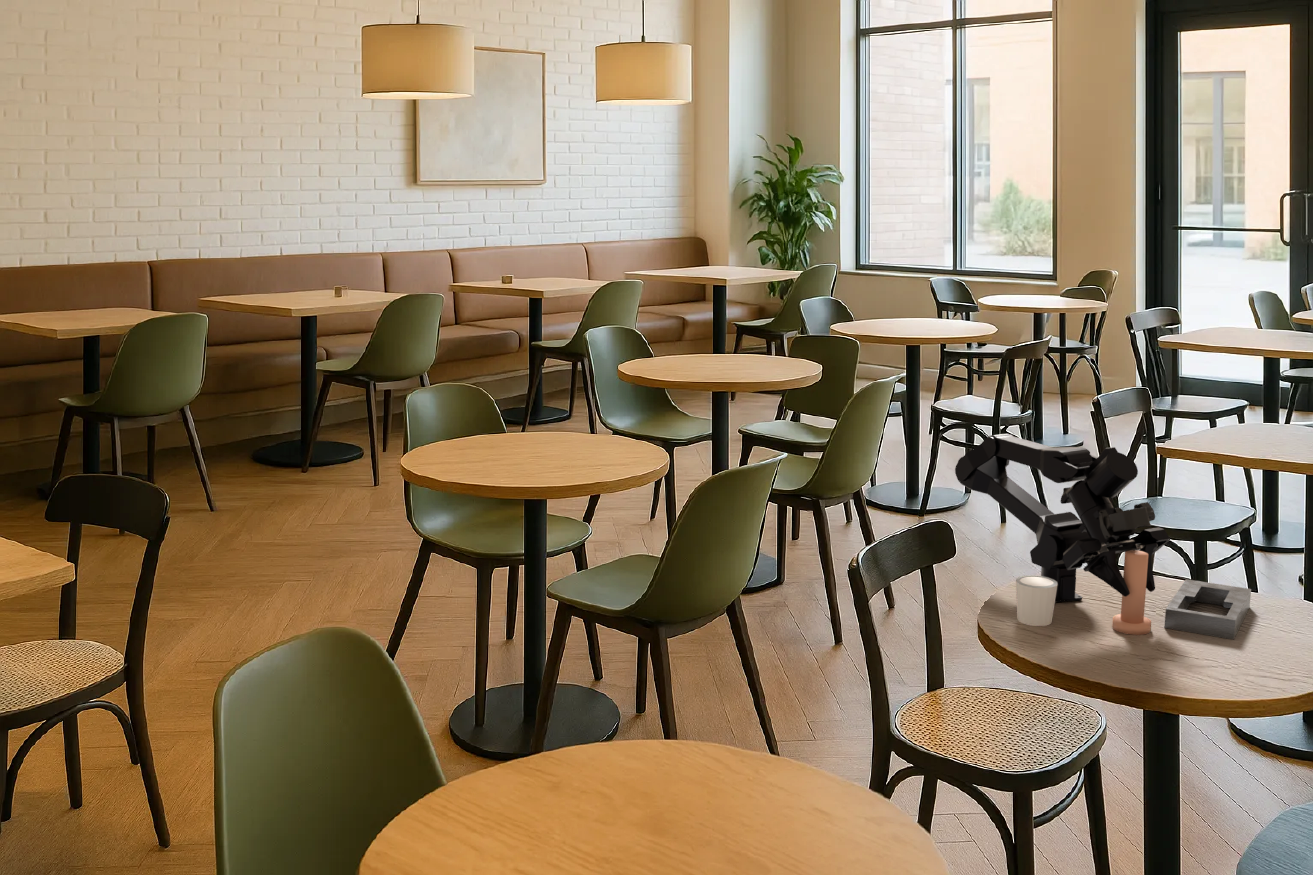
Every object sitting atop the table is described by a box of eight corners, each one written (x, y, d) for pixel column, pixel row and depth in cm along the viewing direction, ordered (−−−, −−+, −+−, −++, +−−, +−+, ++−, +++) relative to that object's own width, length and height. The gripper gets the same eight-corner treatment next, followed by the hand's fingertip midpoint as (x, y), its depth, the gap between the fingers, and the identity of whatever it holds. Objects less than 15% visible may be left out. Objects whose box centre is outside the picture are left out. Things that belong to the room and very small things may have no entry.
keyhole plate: (1233, 639, 199) (1235, 620, 199) (1164, 627, 205) (1165, 608, 204) (1249, 607, 214) (1251, 589, 213) (1184, 596, 220) (1185, 579, 219)
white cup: (1050, 613, 212) (1053, 574, 211) (1059, 627, 205) (1062, 587, 204) (1010, 612, 213) (1012, 574, 211) (1017, 626, 206) (1019, 587, 205)
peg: (1105, 623, 207) (1109, 549, 204) (1136, 620, 208) (1142, 547, 206) (1125, 636, 201) (1130, 560, 199) (1158, 633, 203) (1164, 557, 200)
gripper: (1078, 493, 200) (1124, 577, 192) (1165, 481, 207) (1213, 561, 199) (1043, 527, 209) (1085, 609, 201) (1128, 515, 216) (1172, 593, 208)
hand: (1140, 592), depth 202 cm, fingers open, 5 cm apart
